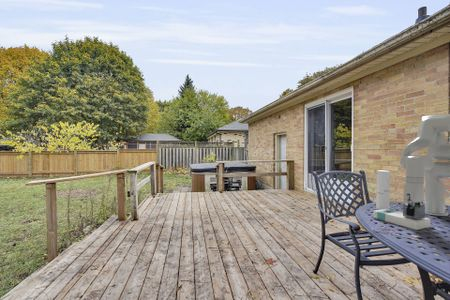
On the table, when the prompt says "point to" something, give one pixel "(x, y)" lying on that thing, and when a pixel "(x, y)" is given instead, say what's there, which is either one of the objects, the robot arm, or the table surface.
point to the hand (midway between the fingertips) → (413, 214)
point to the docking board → (401, 219)
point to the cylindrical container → (383, 189)
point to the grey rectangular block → (415, 211)
